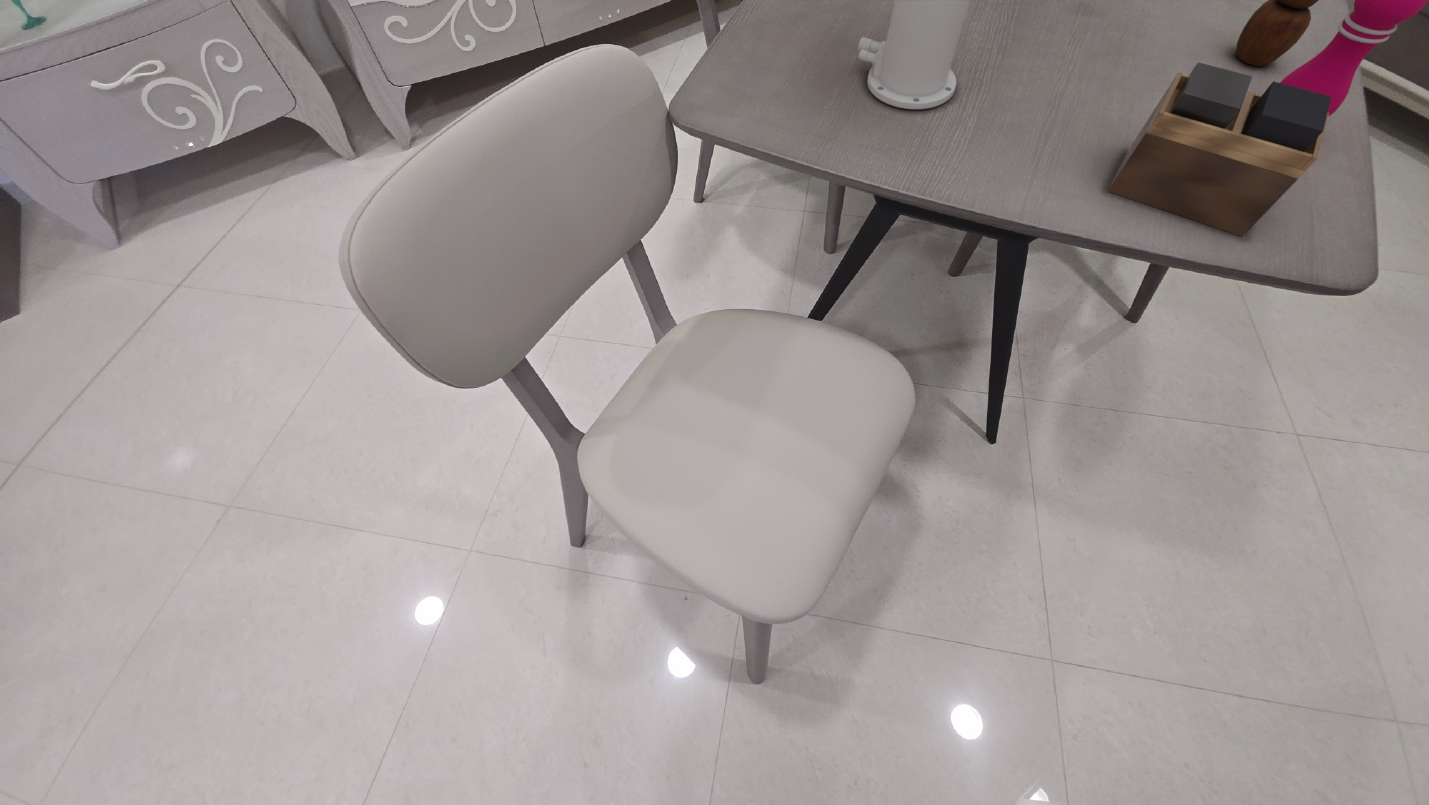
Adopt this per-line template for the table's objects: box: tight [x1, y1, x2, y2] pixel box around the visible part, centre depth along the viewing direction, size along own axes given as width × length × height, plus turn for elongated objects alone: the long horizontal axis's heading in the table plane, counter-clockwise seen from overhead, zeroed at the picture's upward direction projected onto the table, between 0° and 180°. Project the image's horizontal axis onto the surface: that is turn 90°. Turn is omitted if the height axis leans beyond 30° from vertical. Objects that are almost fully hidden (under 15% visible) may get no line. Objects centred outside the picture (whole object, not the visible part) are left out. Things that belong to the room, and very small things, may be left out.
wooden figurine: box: [1235, 0, 1320, 67], centre depth 81 cm, size 7×6×15 cm
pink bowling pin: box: [1279, 0, 1429, 117], centre depth 70 cm, size 7×7×20 cm
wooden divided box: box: [1107, 62, 1329, 237], centre depth 68 cm, size 15×9×12 cm, turn 56°
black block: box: [1242, 81, 1331, 152], centre depth 63 cm, size 6×7×4 cm
